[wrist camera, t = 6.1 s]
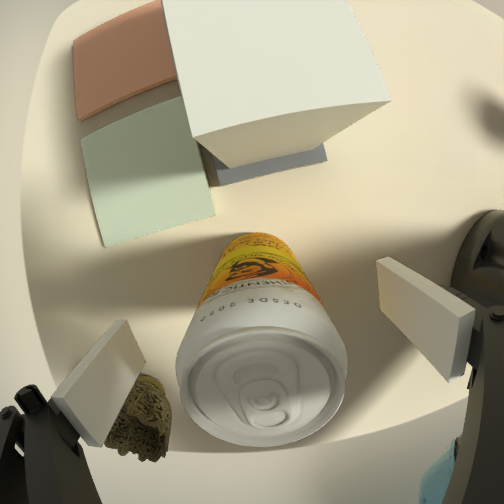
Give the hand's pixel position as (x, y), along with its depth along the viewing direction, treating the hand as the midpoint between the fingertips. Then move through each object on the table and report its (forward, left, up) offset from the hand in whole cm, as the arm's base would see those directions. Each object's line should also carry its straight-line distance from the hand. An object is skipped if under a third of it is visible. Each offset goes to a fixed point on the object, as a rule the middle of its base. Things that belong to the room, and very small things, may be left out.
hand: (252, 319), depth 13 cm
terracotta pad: (+22, +7, -9) cm, 25 cm away
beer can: (0, 0, -10) cm, 10 cm away
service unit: (+16, -3, -9) cm, 19 cm away
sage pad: (+10, +7, -9) cm, 15 cm away
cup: (-10, +14, -10) cm, 20 cm away
